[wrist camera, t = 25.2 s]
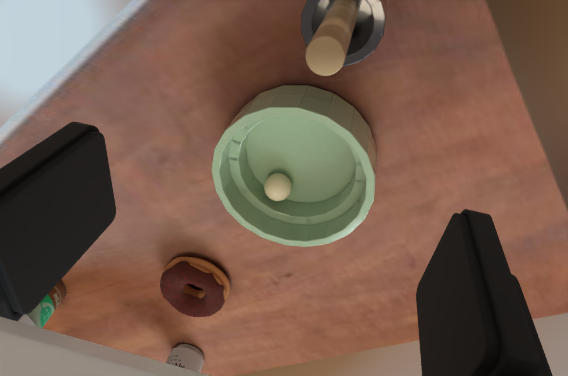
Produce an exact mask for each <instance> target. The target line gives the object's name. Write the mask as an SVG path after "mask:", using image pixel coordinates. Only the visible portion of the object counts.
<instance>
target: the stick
mask: <svg viewBox="0 0 568 376" xmlns="http://www.w3.org/2000/svg"><path fill="white" fill-rule="evenodd" d="M361 1H362V0H335V1H334V3H333V5H332V6H331V8H330V10H329V11H328V13H327V15H326V16H325V18H324V20H323V21H322V23H321V25H320V26H319V28H318V30H317V31H316V33H315V35H314V36H313V38H312V40H311V41H310V43H309V45H308V46H307V49H306V53H305V58H306V62H307V65H308V66H309V68H310V69H311V70H312V71H313V72H314V73H316V74H318V75H322V76H329V75H332V74H334V73H336V72H338V71H339V70H340V69H341V67H342V66H343V64H344V61H345V57H346V54H347V51H348V47H349V44H350V40H351V37H352V33H353V30H354V26H355V23H356V19H357V16H358V12H359V9H360V5H361Z"/></svg>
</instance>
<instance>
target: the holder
mask: <svg viewBox="0 0 568 376" xmlns="http://www.w3.org/2000/svg"><path fill="white" fill-rule="evenodd" d="M334 1H335V0H307V2H306V4H305V6H304V9H303V11H302V15H301V32H302V35H303V38H304V40H305V43H306V46H308V45H309V43H310V41H311V40H312V38H313V36H314V35H315V33H316V31H317V30H318V28H319V26H320V25H321V23H322V21H323V20H324V18H325V16H326V15H327V13H328V11H329V10H330V8H331V6H332V5H333V3H334ZM385 19H386V2H385V0H362V1H361V5H360V9H359V12H358V16H357V19H356V23H355V26H354V30H353V33H352V37H351V40H350V44H349V47H348V51H347V54H346V57H345V61H344V64H343V66H348V65H351V64H354V63H357V62H360V61H362V60H364V59H365V58H366V57H367V56H369V55H370V54H371V53H372V52H373V51H374V50H375V49H376V47H377V45H378V44H379V42H380V40H381V38H382V36H383V34H384V26H385Z"/></svg>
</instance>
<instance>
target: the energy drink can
mask: <svg viewBox="0 0 568 376" xmlns="http://www.w3.org/2000/svg"><path fill="white" fill-rule="evenodd" d="M166 363H168V364H171V365H175V366H178V367H182V368H185V369H189V370H192V371H196V372H199V373H200V371H201V369H202V366H203V363H204V361H203V355H202V353H201V351H200V350H199V349H197V348H196V347H194V346H191V345H188V344H180V345H178V346H177V347H176V348H174V349H172V351H171V353H170V355H169V357H168V359H167V361H166Z"/></svg>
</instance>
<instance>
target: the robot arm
mask: <svg viewBox="0 0 568 376" xmlns="http://www.w3.org/2000/svg"><path fill="white" fill-rule="evenodd" d="M115 215H116V206H115V200H114V194H113V188H112V182H111V176H110V169H109V163H108V157H107V151H106V145H105V139H104V136H103V134H101V133H99V130H98V128H97V127H95V126H92V125H87V124H83V123H78V122H71V123H69V124H68V125H66V126H65V127H63V128H62V129H60V130H59V131H57V132H56V133H54V134H53V135H51V136H50V137H48V138H46V139H45V140H43V141H42V142H40V143H39V144H37V145H36V146H34V147H33V148H31V149H30V150H28V151H27V152H25V153H24V154H22V155H21V156H19V157H18V158H16V159H15V160H13V161H11V162H10V163H8V164H7V165H5V166H4V167H2V168H1V169H0V376H210V375H206V374H203V373H199V372H196V371H192V370H189V369H185V368H182V367H178V366H175V365H171V364H168V363H164V362H160V361H157V360H153V359H150V358H146V357H143V356H139V355H136V354H132V353H129V352H125V351H121V350H118V349H114V348H111V347H107V346H104V345H100V344H97V343H93V342H90V341H86V340H82V339H79V338H75V337H71V336H68V335H64V334H61V333H57V332H53V331H50V330H46V329H43V328H39V327H35V326H32V325H28V324H25V323H21V322H18V321H19V320H20V318H21V317H22V316H23V315H24V314H25V315H26V314H29V313H31V312H32V311H33V310H34V309H35V308H36V307H37V306H38V305H39V303H40V302H41V301H42V300H43V299H44V298H45V297H46V296H47V294H48V293H49V292H50V291H51V290H52V289H53V288H54V287H55V285H56V284H57V283H58V282H59V281H60V280H61V279H62V278H63V277H64V275H65V274H66V273H67V272H68V271H69V270H70V269H71V268H72V266H73V265H74V264H75V263H76V262H77V261H78V260H79V259H80V258H81V256H82V255H83V254H84V253H85V252H86V251H87V250H88V249H89V247H90V246H91V245H92V244H93V243H94V242H95V241H96V240H97V238H98V237H99V236H100V235H101V234H102V233H103V232H104V231H105V230H106V228H107V227H108V226H109V225H110V224H111V223H112V221H113V220H114V218H115ZM416 301H417V314H418V327H419V340H420V353H421V366H422V376H552V373H551V370H550V367H549V365H548V362H547V359H546V357H545V353H544V351H543V348H542V345H541V342H540V340H539V337H538V334H537V331H536V329H535V326H534V323H533V320H532V317H531V315H530V312H529V309H528V306H527V303H526V301H525V298H524V295H523V292H522V290H521V287H520V284H519V282H518V280H517V278H516V277H515V276H514V275H512V274H511V272H510V269H509V266H508V263H507V261H506V258H505V255H504V252H503V249H502V246H501V243H500V240H499V238H498V235H497V232H496V229H495V226H494V223H493V220H492V218H491V216H490V215H489V214H485V213H480V212H476V211H471V210H467V209H465V210H463V211H462V212H461V214H458V213H455V214H454V215H453V216H452V217H451V219H450V221H449V223H448V226H447V228H446V230H445V232H444V234H443V236H442V238H441V240H440V242H439V244H438V246H437V248H436V250H435V252H434V254H433V256H432V258H431V260H430V262H429V264H428V266H427V268H426V270H425V272H424V274H423V276H422V278H421V280H420V282H419V285H418V288H417V293H416Z"/></svg>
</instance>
